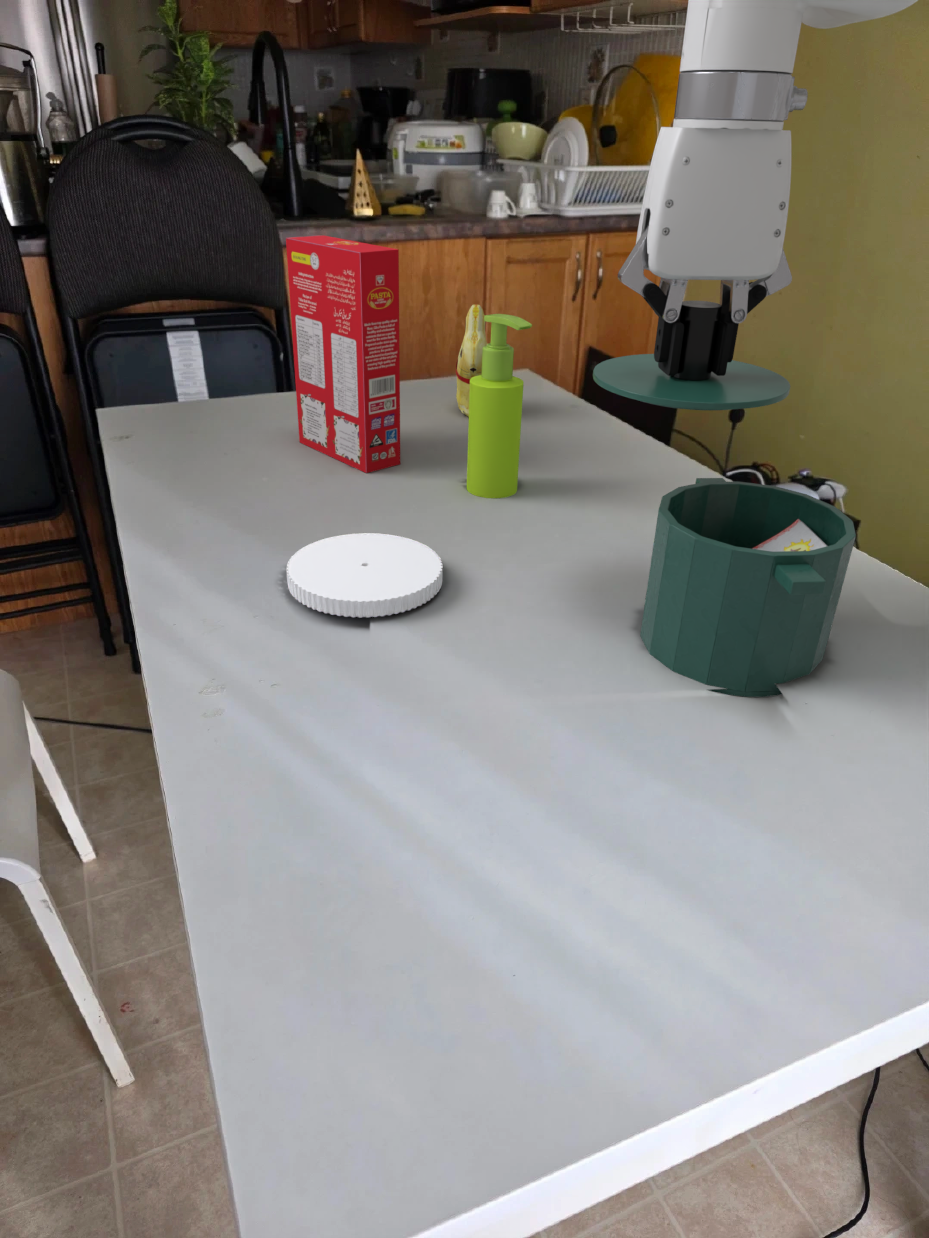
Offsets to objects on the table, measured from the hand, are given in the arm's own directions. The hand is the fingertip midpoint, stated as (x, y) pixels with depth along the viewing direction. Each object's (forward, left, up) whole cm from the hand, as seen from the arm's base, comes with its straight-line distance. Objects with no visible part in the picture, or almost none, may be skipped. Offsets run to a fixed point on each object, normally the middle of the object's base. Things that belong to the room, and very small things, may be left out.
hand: (691, 369), depth 70 cm
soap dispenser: (+11, -27, -21) cm, 36 cm away
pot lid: (0, 0, -1) cm, 1 cm away
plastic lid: (+26, -4, -21) cm, 34 cm away
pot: (-4, +8, -21) cm, 23 cm away
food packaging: (+28, -42, -21) cm, 54 cm away
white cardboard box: (-4, +8, -20) cm, 22 cm away
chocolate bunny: (+9, -61, -21) cm, 65 cm away
